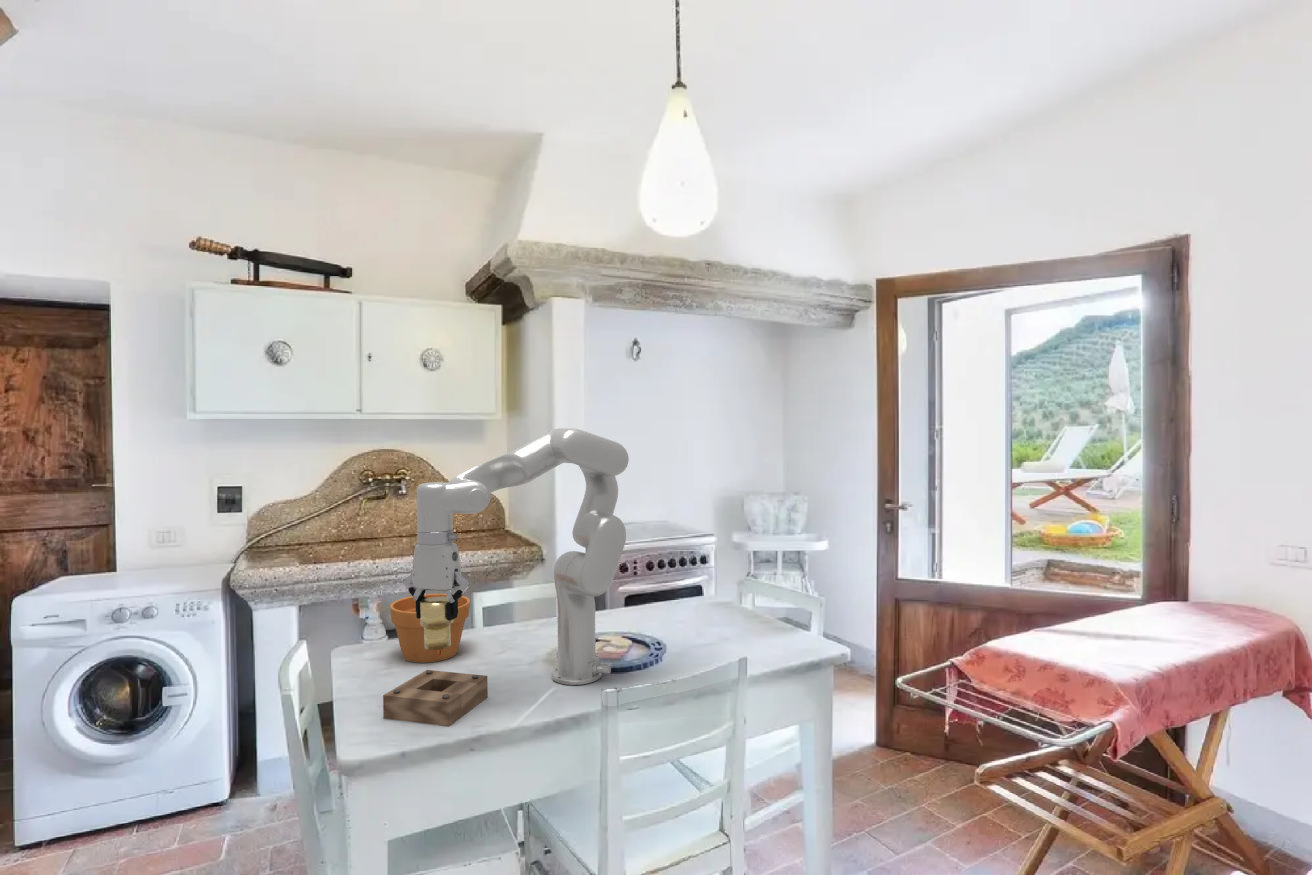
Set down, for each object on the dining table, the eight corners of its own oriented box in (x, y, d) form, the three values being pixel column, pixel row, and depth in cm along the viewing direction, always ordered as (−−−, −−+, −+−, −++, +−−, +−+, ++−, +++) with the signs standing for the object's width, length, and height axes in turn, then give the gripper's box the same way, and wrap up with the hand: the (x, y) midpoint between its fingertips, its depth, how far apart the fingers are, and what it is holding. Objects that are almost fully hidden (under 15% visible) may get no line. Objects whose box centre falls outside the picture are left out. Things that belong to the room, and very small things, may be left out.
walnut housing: (487, 701, 160) (487, 673, 160) (449, 731, 144) (448, 700, 144) (427, 694, 164) (426, 667, 164) (383, 722, 149) (383, 692, 149)
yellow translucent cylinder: (460, 642, 157) (459, 597, 156) (442, 652, 150) (441, 605, 150) (432, 640, 158) (431, 595, 158) (414, 649, 152) (413, 603, 152)
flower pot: (474, 640, 206) (473, 591, 205) (466, 664, 185) (465, 609, 185) (399, 645, 202) (398, 594, 202) (382, 669, 181) (382, 613, 181)
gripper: (479, 536, 155) (480, 615, 155) (411, 534, 160) (413, 611, 160) (461, 542, 148) (462, 625, 148) (390, 539, 152) (392, 620, 153)
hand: (436, 617), depth 154 cm, fingers closed on yellow translucent cylinder, 7 cm apart
